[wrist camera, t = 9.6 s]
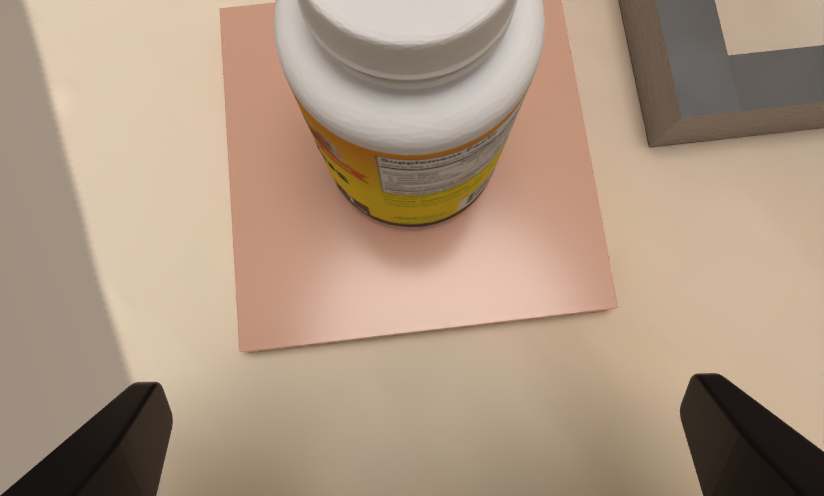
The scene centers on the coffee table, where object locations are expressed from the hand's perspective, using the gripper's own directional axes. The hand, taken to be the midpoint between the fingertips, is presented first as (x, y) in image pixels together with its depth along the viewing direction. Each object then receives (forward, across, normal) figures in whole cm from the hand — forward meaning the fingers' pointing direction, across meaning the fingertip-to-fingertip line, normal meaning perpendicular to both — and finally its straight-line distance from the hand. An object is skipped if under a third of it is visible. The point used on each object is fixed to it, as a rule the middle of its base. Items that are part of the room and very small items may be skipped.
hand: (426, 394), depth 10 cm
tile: (+12, 0, +1) cm, 12 cm away
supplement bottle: (+11, 0, +1) cm, 11 cm away
